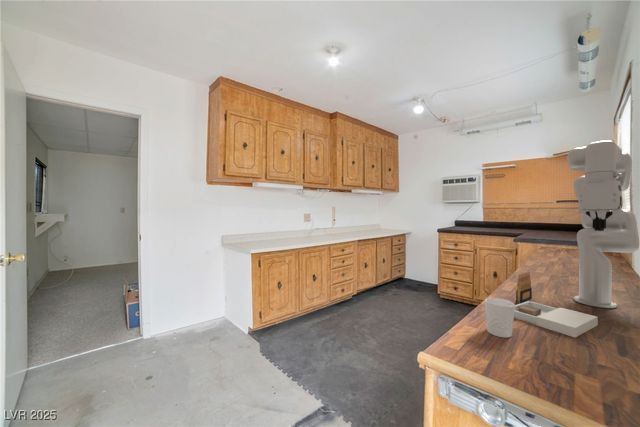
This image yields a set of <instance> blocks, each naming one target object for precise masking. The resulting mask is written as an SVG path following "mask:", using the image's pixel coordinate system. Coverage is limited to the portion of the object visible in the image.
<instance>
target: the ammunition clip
mask: <svg viewBox="0 0 640 427" xmlns="http://www.w3.org/2000/svg"><path fill="white" fill-rule="evenodd" d="M531 280H532V279H531V272H530V271H528V272H524V273H520V274H518V277H517V283H516V291H515V293H516V294H515V302H516V303H518V304H521V303H524V302H527V301H531V300H532V298H533V297H532V296H533V293H532V291H533V289H532V281H531Z"/></svg>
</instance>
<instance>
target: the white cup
mask: <svg viewBox="0 0 640 427" xmlns="http://www.w3.org/2000/svg"><path fill="white" fill-rule="evenodd" d="M484 304H485V305H484V308H485V322H486V332H488V333H489V334H490V335H492V336H494V337H500V338H511V337H513V329H514V328H513V327H514V319H515V318H514V308H515V305H516V304H515V303H514V302H513V301H511V300H508V299H504V298H499V297H487V298H485V299H484Z"/></svg>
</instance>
